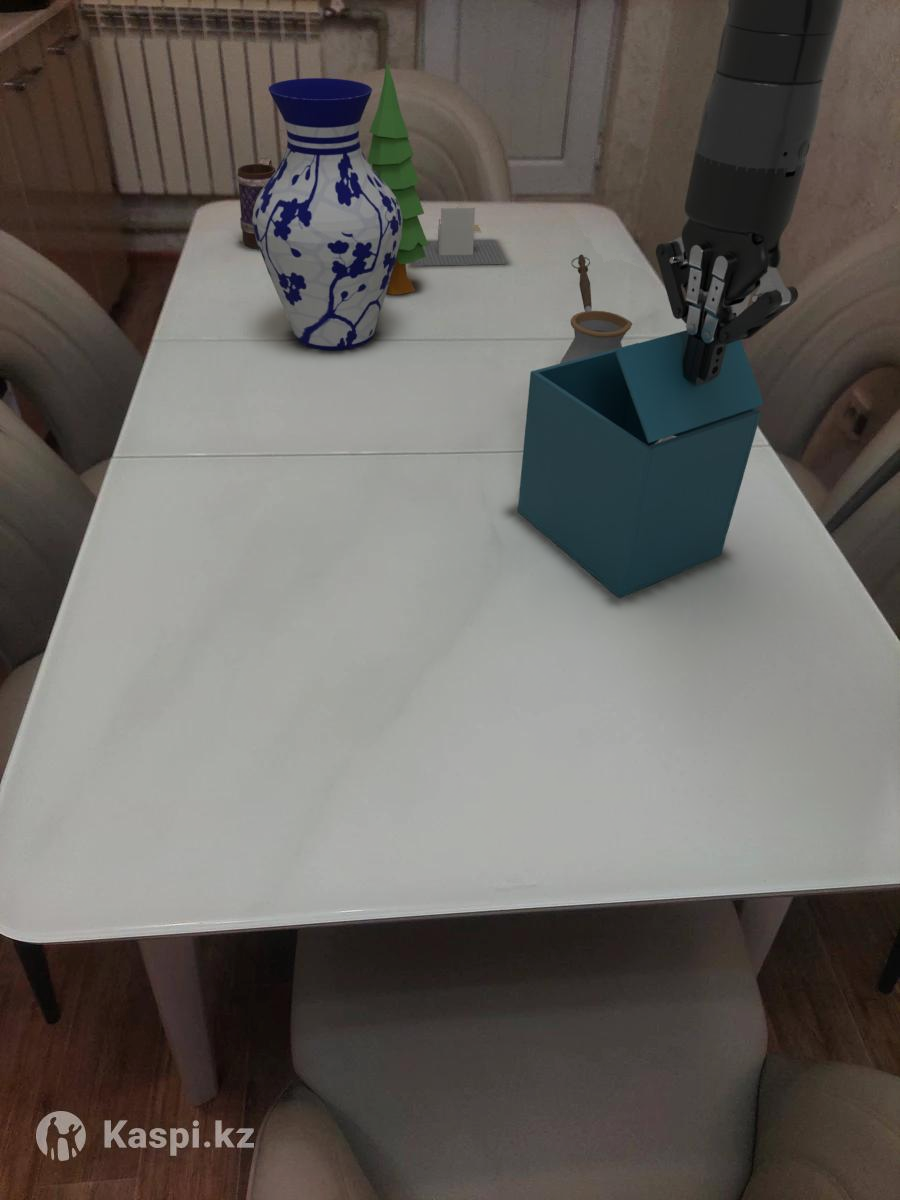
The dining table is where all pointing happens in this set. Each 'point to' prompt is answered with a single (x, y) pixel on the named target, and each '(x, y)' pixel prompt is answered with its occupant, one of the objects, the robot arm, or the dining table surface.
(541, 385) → the open storage box
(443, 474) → the dining table surface
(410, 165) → the decorative tree
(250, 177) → the mug
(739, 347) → the flap
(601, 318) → the coffee pot
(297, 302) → the vase
